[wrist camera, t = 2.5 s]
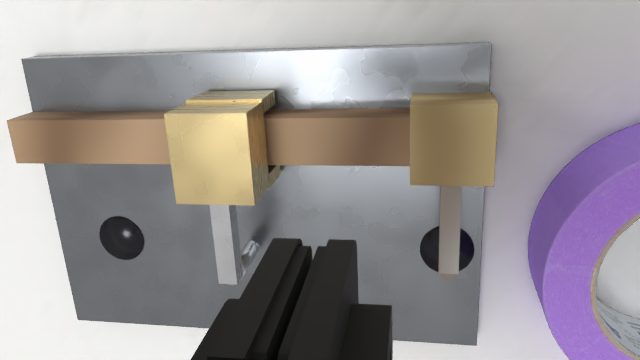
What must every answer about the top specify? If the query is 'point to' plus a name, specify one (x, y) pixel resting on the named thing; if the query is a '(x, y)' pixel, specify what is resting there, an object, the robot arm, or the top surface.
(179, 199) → the sliding head
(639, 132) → the masking tape
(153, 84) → the plate
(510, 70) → the top surface
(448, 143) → the trammel beam
